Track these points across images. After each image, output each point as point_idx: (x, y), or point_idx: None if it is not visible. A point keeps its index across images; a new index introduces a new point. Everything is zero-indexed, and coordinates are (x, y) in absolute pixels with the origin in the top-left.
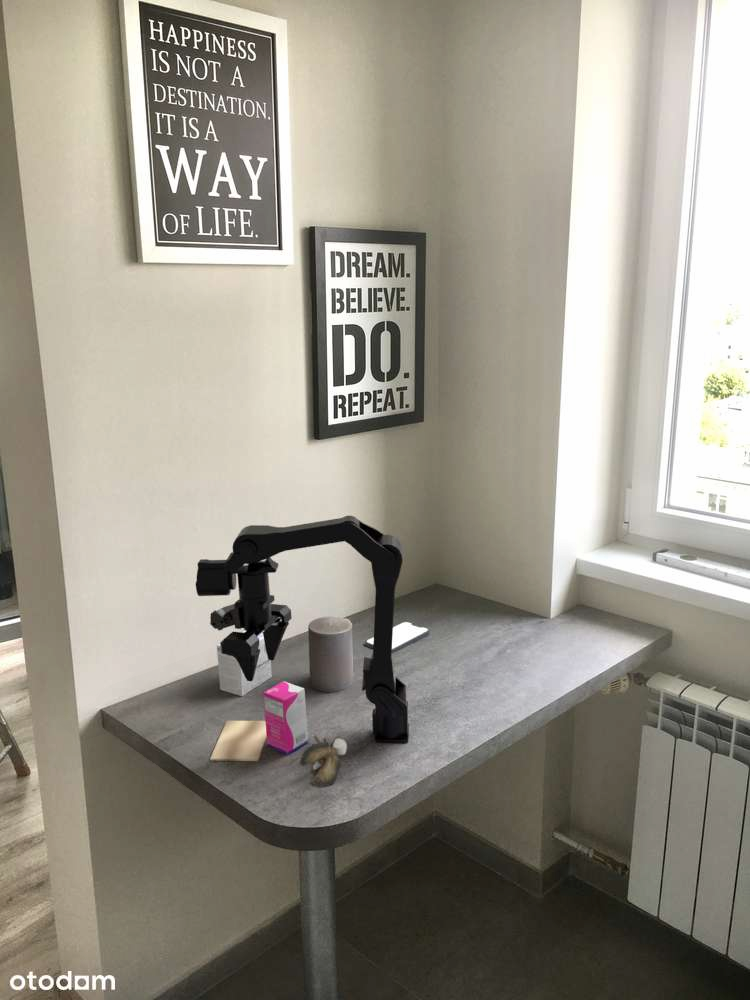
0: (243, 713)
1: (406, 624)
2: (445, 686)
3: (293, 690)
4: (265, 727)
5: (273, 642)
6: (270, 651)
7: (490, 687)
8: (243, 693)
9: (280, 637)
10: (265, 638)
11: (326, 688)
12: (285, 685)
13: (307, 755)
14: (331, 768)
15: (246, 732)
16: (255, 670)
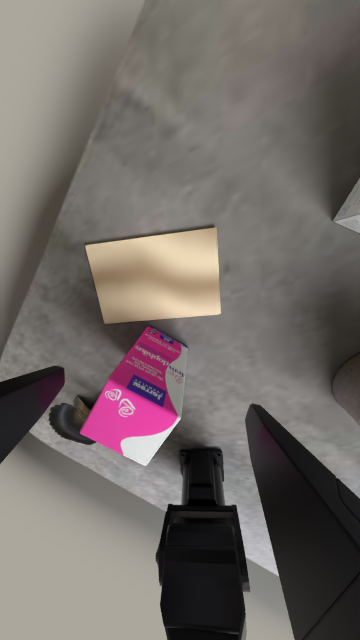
0: (253, 250)
1: None
2: None
3: (129, 448)
4: (197, 310)
5: (286, 533)
6: (260, 451)
7: None
8: (340, 222)
9: (294, 634)
10: (329, 527)
11: (338, 383)
12: (154, 427)
13: (59, 420)
14: None
15: (176, 282)
16: (23, 436)
